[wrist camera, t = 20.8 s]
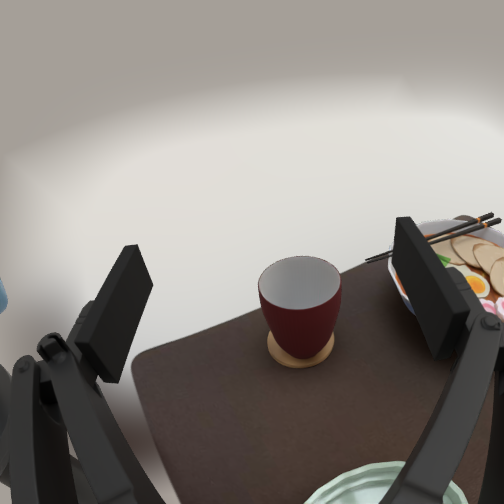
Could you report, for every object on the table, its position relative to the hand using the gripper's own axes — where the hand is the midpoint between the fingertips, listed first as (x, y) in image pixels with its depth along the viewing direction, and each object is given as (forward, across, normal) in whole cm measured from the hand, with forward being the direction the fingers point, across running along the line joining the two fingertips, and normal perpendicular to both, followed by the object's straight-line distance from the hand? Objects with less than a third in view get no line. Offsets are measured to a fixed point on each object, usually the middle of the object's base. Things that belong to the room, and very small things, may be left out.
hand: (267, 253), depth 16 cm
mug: (+12, +2, -21) cm, 24 cm away
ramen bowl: (+13, +24, -22) cm, 35 cm away
